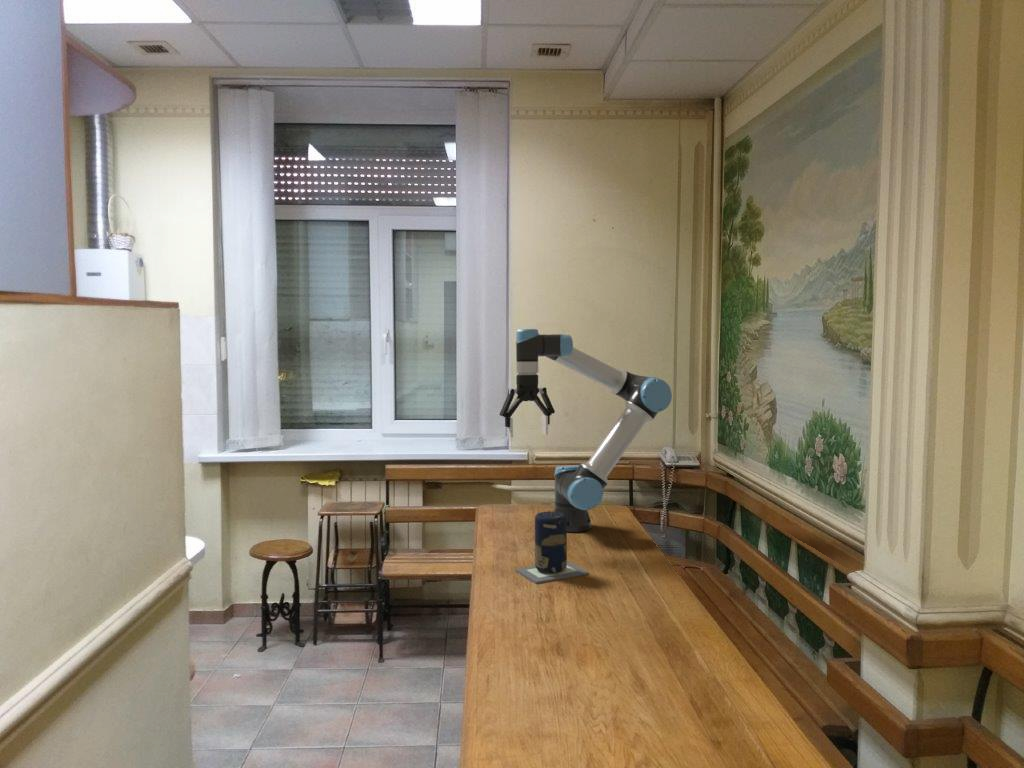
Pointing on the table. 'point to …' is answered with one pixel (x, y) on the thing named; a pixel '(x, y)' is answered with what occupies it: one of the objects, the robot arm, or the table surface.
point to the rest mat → (541, 577)
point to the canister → (550, 542)
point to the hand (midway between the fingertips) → (527, 435)
